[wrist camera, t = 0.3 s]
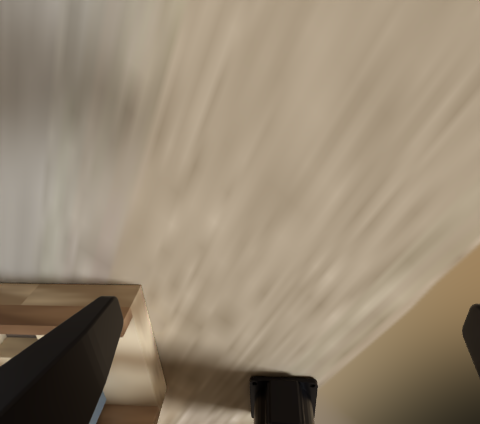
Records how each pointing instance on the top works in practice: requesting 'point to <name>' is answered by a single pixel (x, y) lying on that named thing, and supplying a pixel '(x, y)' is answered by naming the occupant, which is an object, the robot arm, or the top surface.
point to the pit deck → (127, 353)
